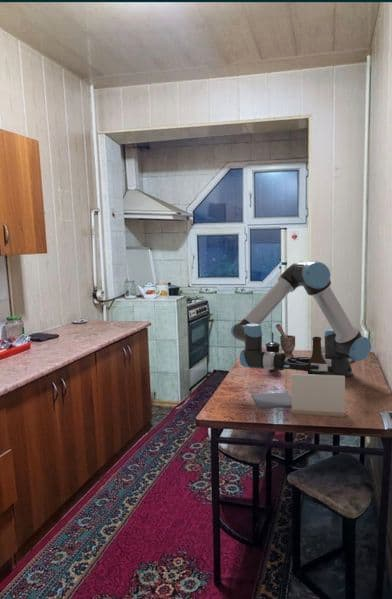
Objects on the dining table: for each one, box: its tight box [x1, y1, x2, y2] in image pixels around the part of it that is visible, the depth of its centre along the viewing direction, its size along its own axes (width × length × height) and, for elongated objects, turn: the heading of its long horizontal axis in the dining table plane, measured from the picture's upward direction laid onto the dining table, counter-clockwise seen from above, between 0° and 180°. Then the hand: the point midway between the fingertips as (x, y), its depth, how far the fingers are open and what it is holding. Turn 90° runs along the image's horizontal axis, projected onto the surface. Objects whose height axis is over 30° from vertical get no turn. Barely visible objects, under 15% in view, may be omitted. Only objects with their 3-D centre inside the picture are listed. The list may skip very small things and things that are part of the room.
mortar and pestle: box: [275, 323, 296, 358], centre depth 265 cm, size 12×9×20 cm
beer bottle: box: [307, 336, 327, 375], centre depth 190 cm, size 8×8×24 cm
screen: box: [291, 373, 346, 418], centre depth 178 cm, size 20×6×15 cm, turn 75°
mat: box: [251, 392, 292, 409], centre depth 194 cm, size 16×16×1 cm
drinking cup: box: [265, 332, 281, 372], centre depth 242 cm, size 8×8×20 cm
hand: (329, 365), depth 187 cm, fingers closed on beer bottle, 7 cm apart
